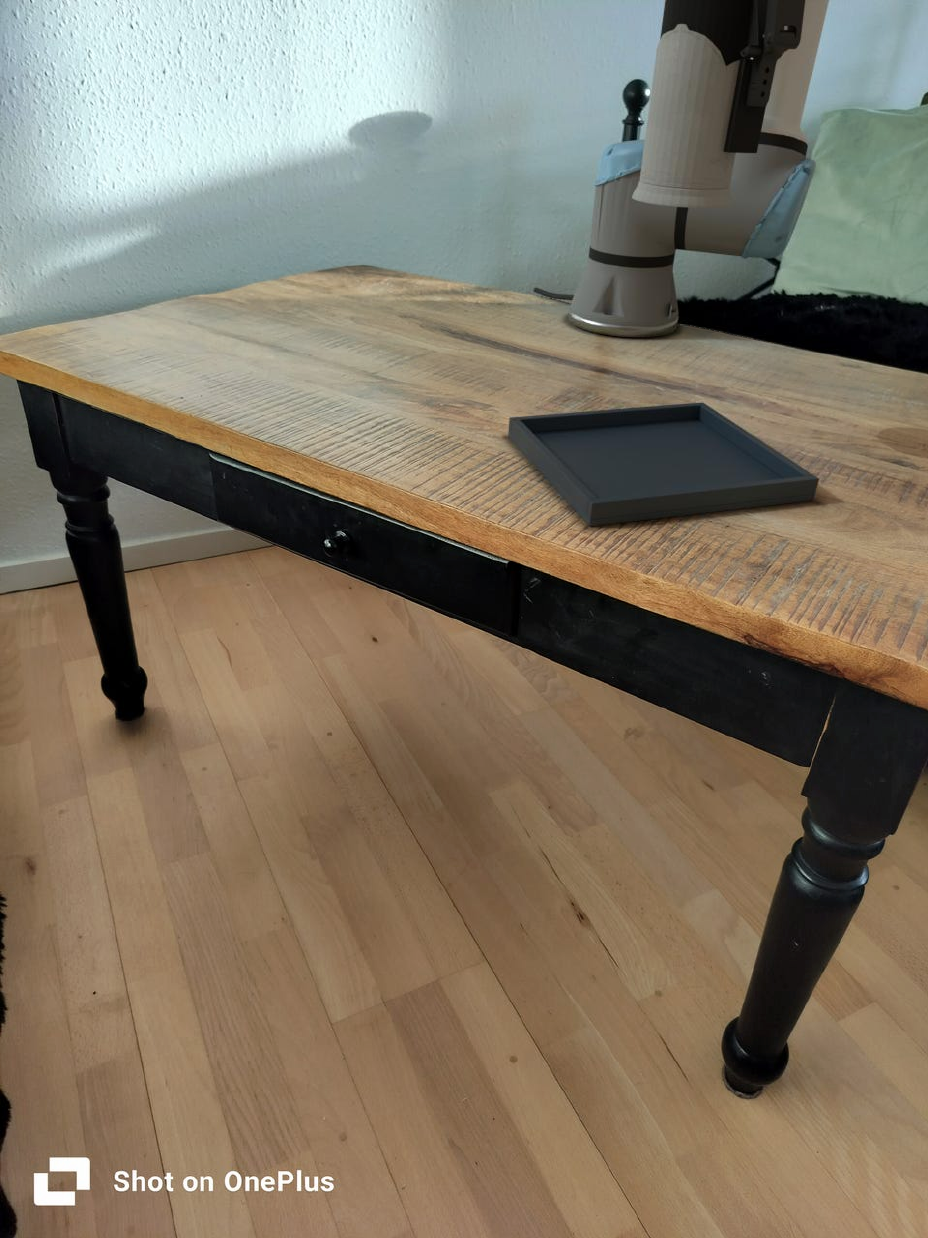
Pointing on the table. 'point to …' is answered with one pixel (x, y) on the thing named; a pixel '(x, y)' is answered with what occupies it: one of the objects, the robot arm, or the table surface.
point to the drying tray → (657, 463)
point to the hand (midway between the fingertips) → (712, 146)
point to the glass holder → (693, 104)
